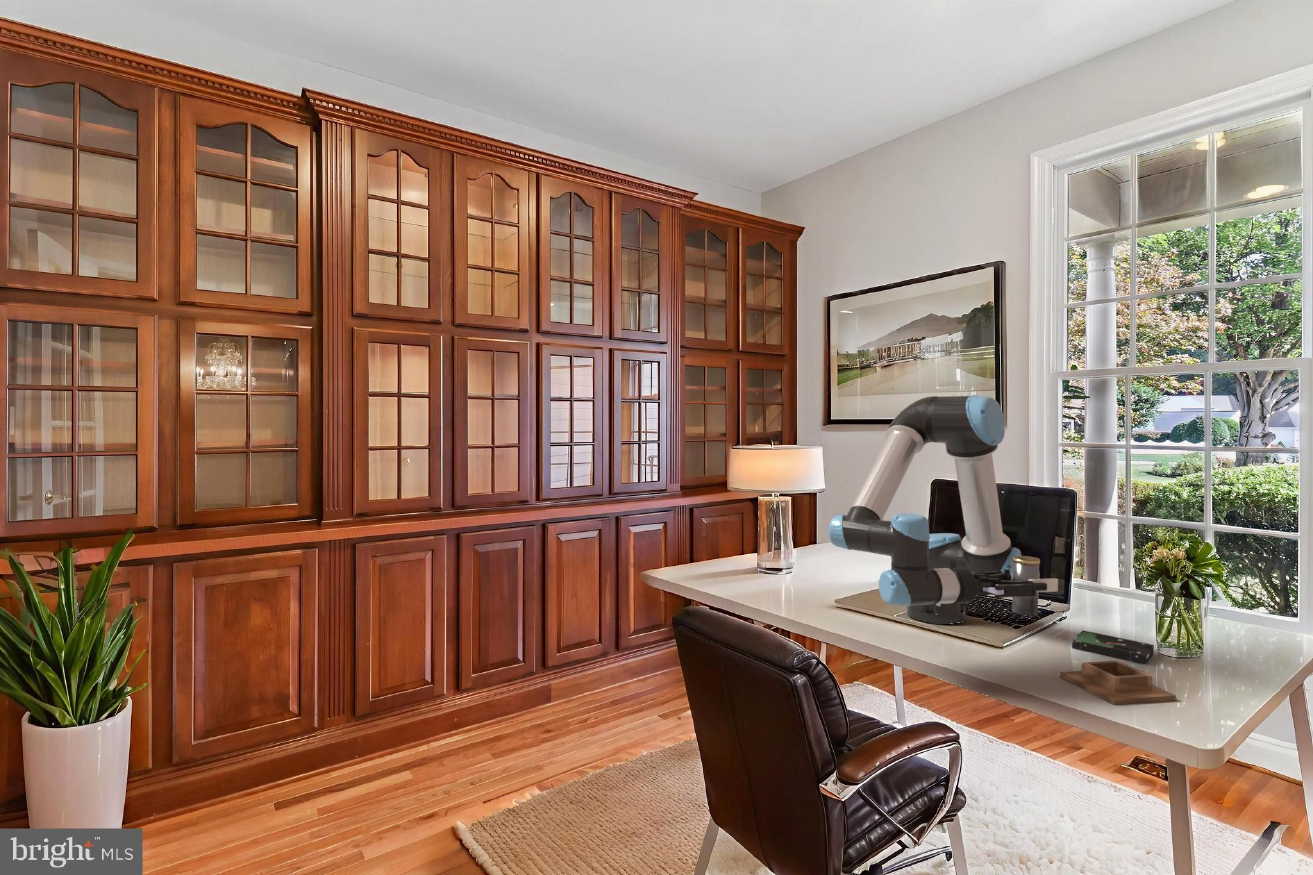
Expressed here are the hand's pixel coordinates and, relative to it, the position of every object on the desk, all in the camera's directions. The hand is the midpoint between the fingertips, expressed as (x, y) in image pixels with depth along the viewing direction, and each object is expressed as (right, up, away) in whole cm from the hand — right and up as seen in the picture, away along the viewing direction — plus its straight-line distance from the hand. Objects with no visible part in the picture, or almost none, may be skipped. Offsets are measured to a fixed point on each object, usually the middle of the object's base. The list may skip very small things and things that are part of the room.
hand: (1046, 581), depth 149 cm
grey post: (-5, -7, 0) cm, 8 cm away
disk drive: (+23, -20, +12) cm, 32 cm away
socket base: (+8, -20, -10) cm, 24 cm away
